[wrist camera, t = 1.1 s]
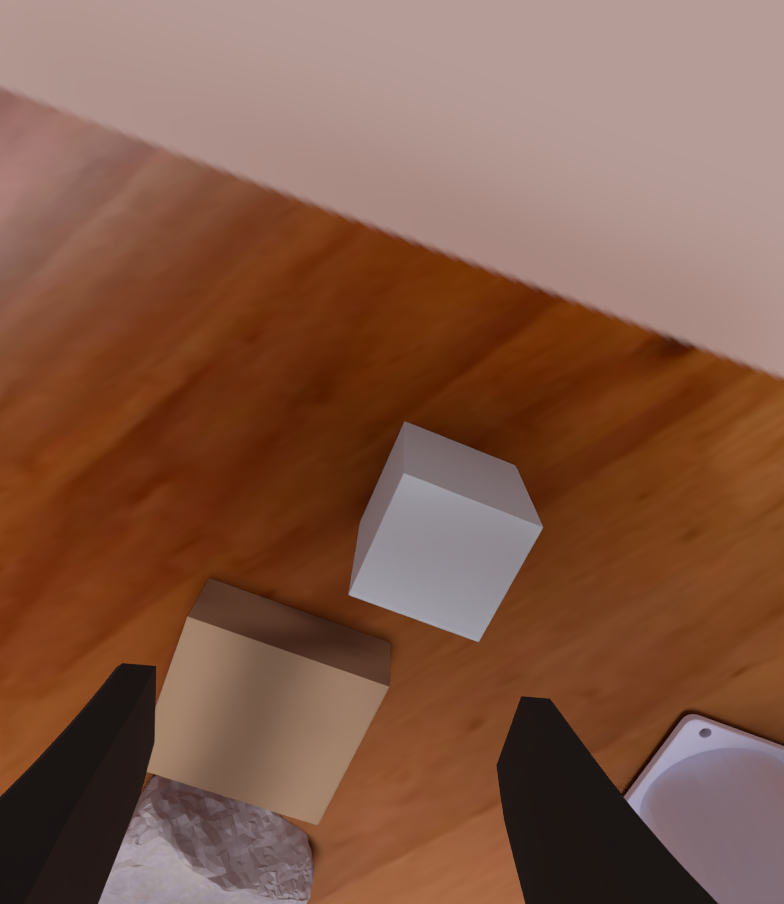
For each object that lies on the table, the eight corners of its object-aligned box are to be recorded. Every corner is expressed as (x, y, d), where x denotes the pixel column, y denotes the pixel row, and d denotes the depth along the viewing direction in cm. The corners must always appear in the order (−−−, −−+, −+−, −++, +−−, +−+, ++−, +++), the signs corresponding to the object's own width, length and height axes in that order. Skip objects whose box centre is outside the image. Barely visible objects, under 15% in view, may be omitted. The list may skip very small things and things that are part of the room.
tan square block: (391, 637, 26) (389, 686, 23) (326, 766, 29) (317, 825, 26) (211, 572, 25) (187, 616, 22) (161, 713, 28) (134, 767, 25)
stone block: (334, 799, 32) (145, 752, 28) (339, 902, 28) (118, 862, 24) (233, 917, 36) (57, 889, 32) (225, 1023, 32) (21, 1004, 28)
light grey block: (515, 465, 23) (543, 527, 18) (465, 561, 24) (478, 642, 20) (404, 420, 22) (403, 473, 18) (359, 521, 24) (348, 594, 19)
